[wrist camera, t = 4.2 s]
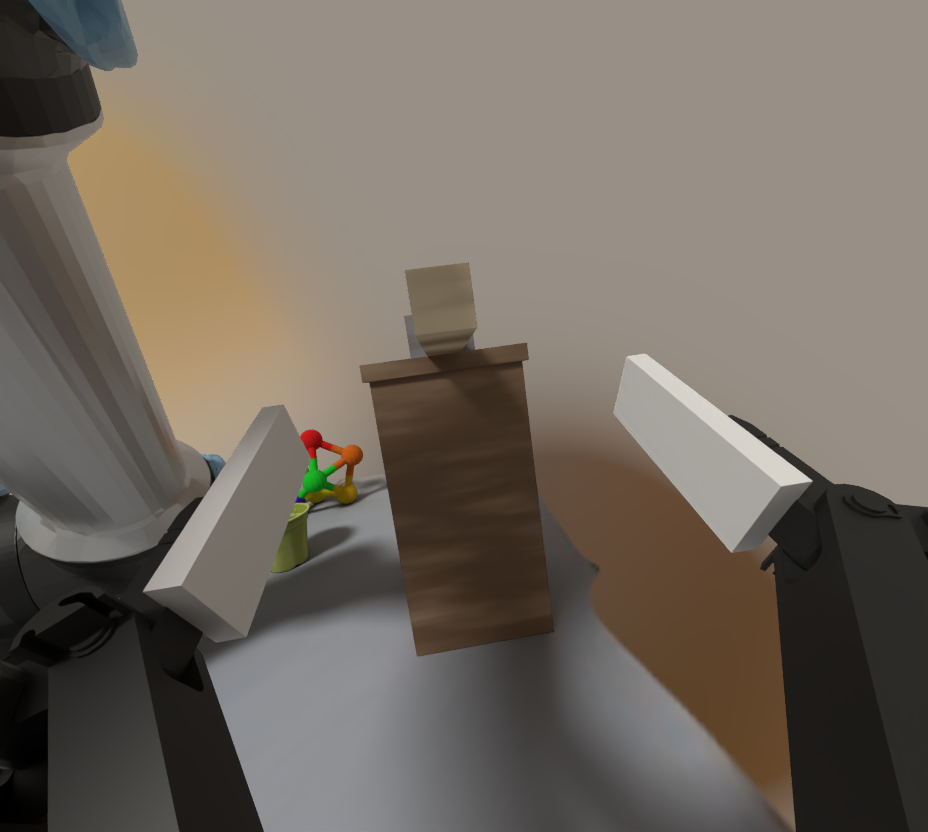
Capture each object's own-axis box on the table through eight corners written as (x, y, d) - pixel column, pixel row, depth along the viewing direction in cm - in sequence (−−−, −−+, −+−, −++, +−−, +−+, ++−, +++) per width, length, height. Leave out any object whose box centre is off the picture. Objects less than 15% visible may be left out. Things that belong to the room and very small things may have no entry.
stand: (421, 572, 47) (387, 370, 43) (523, 554, 48) (498, 355, 44) (411, 661, 32) (359, 365, 29) (560, 634, 33) (526, 342, 29)
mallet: (417, 366, 43) (411, 328, 43) (469, 359, 43) (464, 321, 43) (372, 341, 15) (353, 230, 15) (518, 321, 16) (505, 212, 15)
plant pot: (310, 572, 51) (299, 519, 50) (245, 586, 50) (232, 532, 49) (324, 543, 60) (315, 499, 59) (270, 555, 59) (260, 509, 58)
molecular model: (378, 494, 83) (358, 418, 79) (341, 527, 68) (314, 437, 65) (311, 498, 89) (290, 429, 85) (265, 530, 75) (236, 448, 71)
